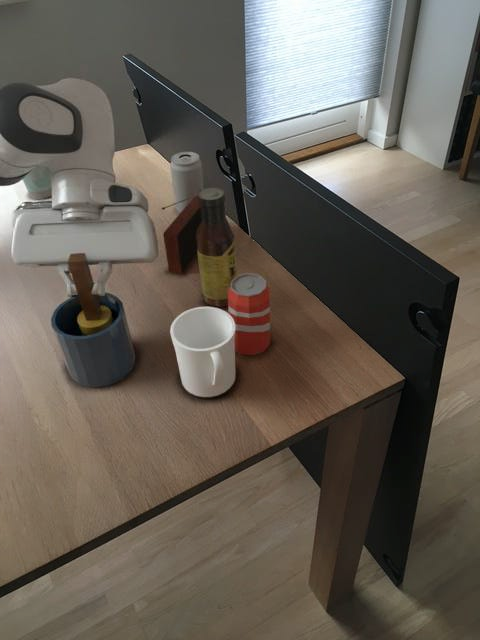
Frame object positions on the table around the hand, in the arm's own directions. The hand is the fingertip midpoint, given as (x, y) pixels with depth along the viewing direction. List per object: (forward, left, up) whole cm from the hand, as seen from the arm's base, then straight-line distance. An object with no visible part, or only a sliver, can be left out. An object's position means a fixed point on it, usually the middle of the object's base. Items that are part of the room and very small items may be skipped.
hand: (86, 296), depth 76 cm
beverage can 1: (+11, +44, -13) cm, 47 cm away
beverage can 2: (+23, +2, -13) cm, 26 cm away
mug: (+17, -6, -13) cm, 22 cm away
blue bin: (0, -1, -12) cm, 12 cm away
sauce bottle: (+18, +14, -13) cm, 26 cm away
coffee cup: (-24, +54, -13) cm, 60 cm away
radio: (+12, +28, -13) cm, 33 cm away
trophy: (0, +1, -8) cm, 8 cm away
